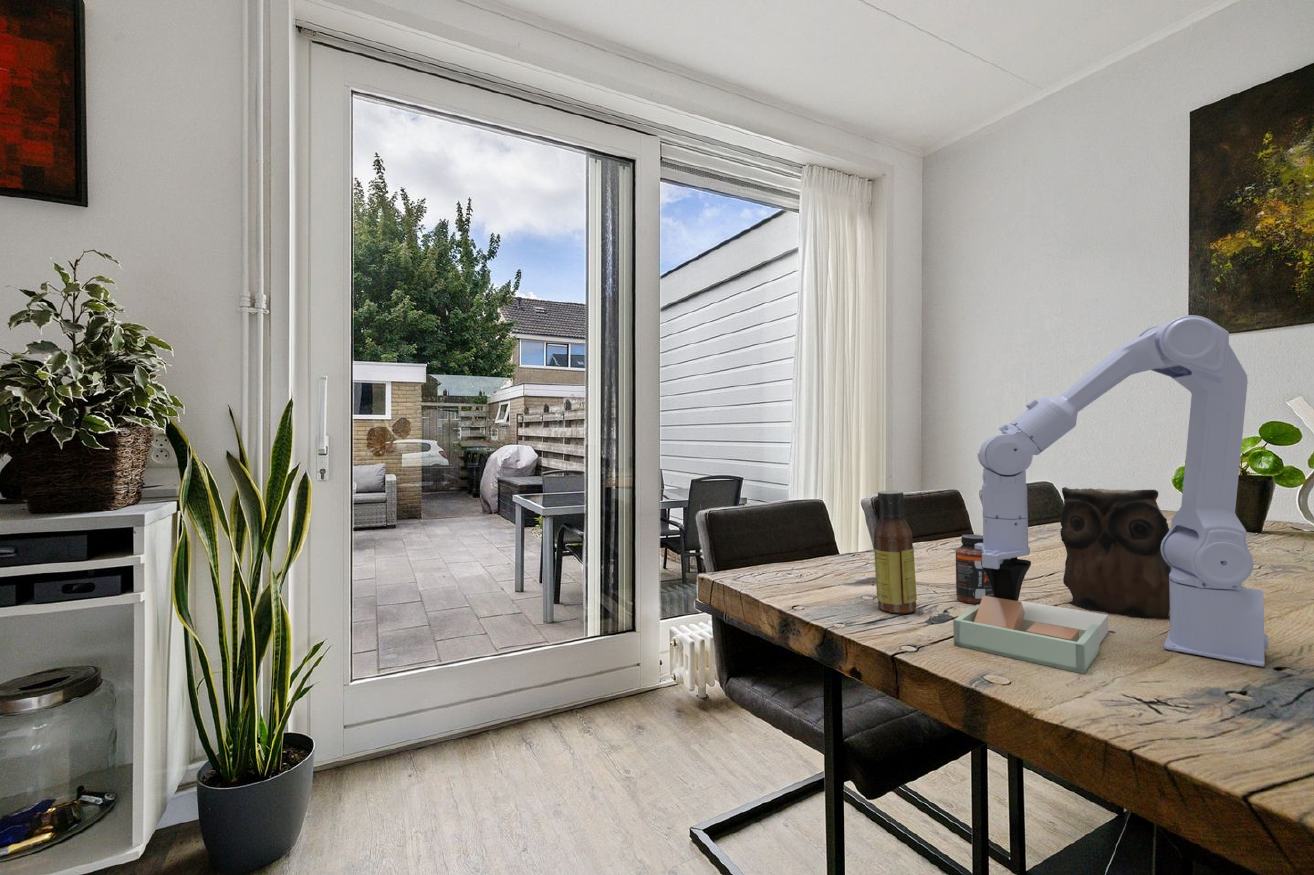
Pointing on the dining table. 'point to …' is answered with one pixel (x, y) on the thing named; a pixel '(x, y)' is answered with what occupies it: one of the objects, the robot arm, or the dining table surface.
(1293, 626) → the dining table surface
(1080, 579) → the owl
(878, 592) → the sauce bottle
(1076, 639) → the tile
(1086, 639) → the tray
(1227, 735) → the dining table surface
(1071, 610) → the board
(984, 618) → the tile
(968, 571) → the supplement bottle
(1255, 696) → the dining table surface
